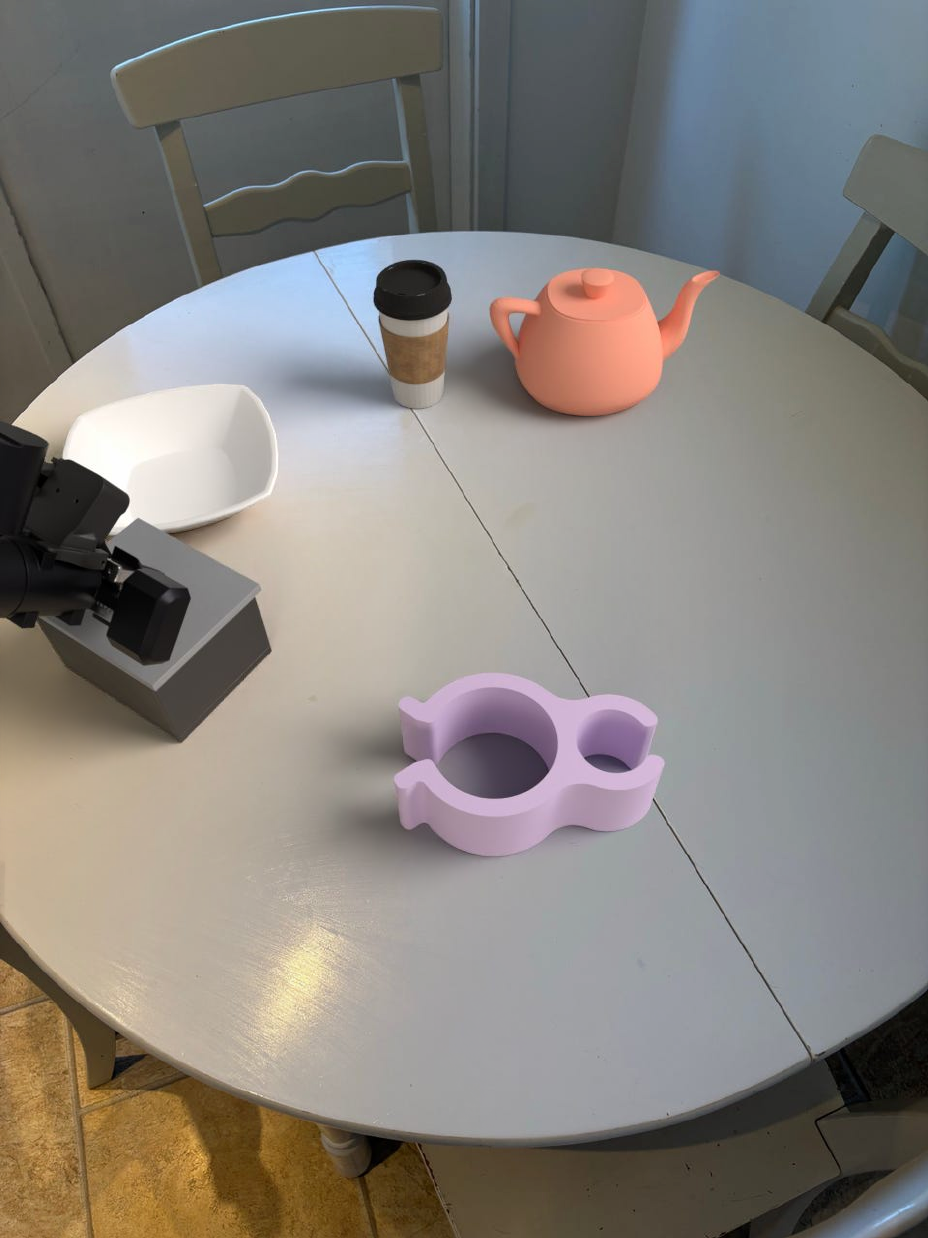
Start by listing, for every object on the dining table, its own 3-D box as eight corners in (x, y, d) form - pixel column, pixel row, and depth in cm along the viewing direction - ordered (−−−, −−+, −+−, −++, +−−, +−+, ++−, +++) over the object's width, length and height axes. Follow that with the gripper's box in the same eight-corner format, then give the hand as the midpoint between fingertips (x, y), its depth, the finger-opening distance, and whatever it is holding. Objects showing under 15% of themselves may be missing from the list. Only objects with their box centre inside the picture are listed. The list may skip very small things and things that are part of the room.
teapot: (681, 332, 111) (702, 229, 101) (713, 418, 101) (741, 313, 90) (482, 341, 110) (483, 238, 100) (494, 429, 100) (497, 324, 89)
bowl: (300, 539, 90) (292, 502, 86) (80, 586, 86) (60, 549, 82) (269, 409, 103) (260, 371, 99) (76, 445, 99) (58, 407, 95)
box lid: (140, 523, 81) (138, 517, 80) (261, 590, 75) (260, 584, 75) (30, 612, 74) (27, 606, 74) (155, 692, 69) (152, 686, 68)
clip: (638, 718, 76) (650, 672, 71) (657, 856, 68) (672, 816, 63) (405, 719, 76) (400, 673, 71) (398, 856, 69) (391, 816, 63)
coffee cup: (373, 410, 102) (360, 292, 91) (394, 366, 107) (384, 249, 96) (444, 420, 101) (439, 302, 89) (461, 376, 106) (460, 258, 94)
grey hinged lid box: (158, 584, 86) (134, 528, 80) (272, 651, 81) (255, 596, 75) (64, 666, 80) (31, 612, 74) (181, 743, 75) (155, 692, 69)
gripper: (129, 520, 56) (276, 533, 70) (-58, 417, 62) (112, 447, 77) (77, 678, 58) (230, 659, 72) (-98, 562, 65) (74, 566, 79)
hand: (160, 577), depth 75 cm, fingers closed, pressing on box lid
